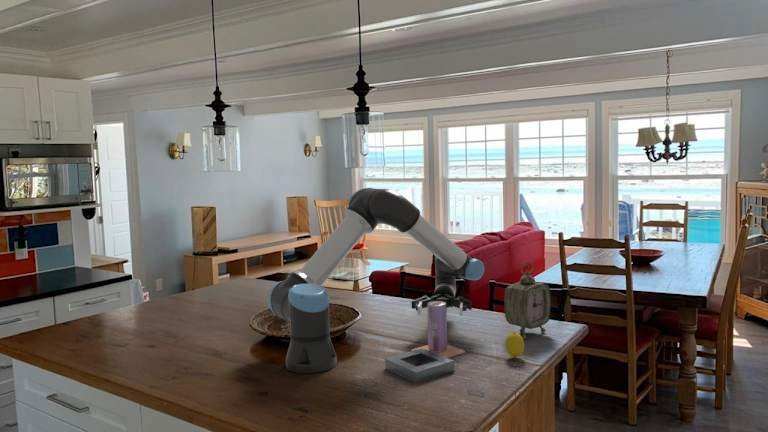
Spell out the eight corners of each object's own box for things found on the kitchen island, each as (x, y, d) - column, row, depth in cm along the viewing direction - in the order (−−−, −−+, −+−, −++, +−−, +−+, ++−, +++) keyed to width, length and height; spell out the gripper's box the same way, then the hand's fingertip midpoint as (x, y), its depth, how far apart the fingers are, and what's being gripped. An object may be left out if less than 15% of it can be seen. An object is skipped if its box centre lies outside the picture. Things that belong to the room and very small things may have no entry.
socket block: (415, 383, 149) (415, 372, 149) (385, 368, 161) (385, 358, 161) (454, 370, 158) (453, 360, 157) (422, 357, 169) (422, 348, 169)
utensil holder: (269, 337, 194) (267, 303, 193) (276, 332, 200) (275, 299, 199) (284, 338, 192) (283, 304, 191) (292, 333, 198) (290, 300, 197)
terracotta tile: (435, 361, 165) (435, 359, 165) (410, 351, 175) (410, 349, 175) (465, 352, 172) (465, 350, 172) (439, 343, 182) (439, 341, 182)
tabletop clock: (524, 342, 181) (524, 266, 179) (502, 336, 188) (502, 263, 186) (550, 332, 190) (550, 260, 188) (528, 327, 197) (528, 257, 195)
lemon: (511, 362, 163) (510, 335, 162) (502, 356, 168) (501, 330, 168) (527, 360, 165) (527, 333, 164) (518, 354, 170) (518, 328, 169)
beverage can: (450, 348, 175) (449, 302, 173) (442, 354, 170) (441, 306, 168) (433, 346, 178) (432, 300, 177) (424, 351, 173) (423, 304, 172)
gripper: (479, 306, 198) (479, 323, 177) (409, 305, 202) (401, 321, 182) (478, 285, 197) (478, 300, 177) (409, 285, 202) (401, 299, 181)
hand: (439, 311), depth 179 cm, fingers open, 13 cm apart
